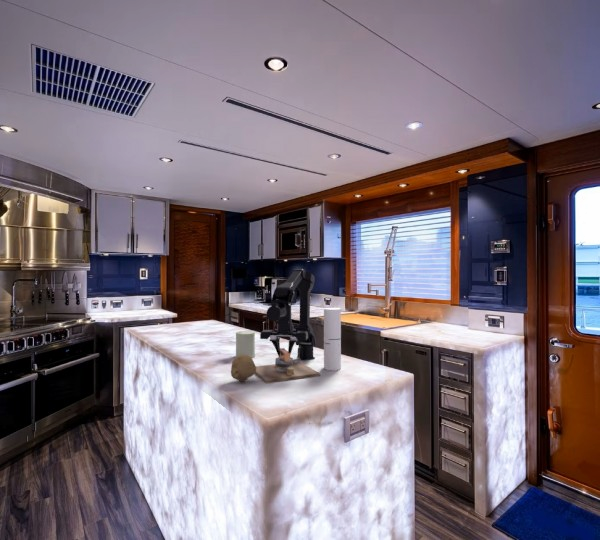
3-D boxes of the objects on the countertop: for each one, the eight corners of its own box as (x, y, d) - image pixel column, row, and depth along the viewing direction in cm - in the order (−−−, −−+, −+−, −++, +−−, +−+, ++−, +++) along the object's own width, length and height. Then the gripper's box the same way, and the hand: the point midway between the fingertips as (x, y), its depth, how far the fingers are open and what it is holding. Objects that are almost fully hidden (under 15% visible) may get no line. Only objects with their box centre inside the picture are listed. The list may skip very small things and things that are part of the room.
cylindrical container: (340, 370, 146) (340, 309, 146) (322, 369, 147) (322, 309, 147) (341, 366, 153) (341, 308, 153) (325, 365, 154) (325, 307, 154)
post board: (299, 363, 157) (299, 356, 157) (319, 375, 139) (319, 367, 139) (250, 369, 148) (250, 361, 148) (266, 383, 130) (266, 374, 130)
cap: (296, 366, 140) (296, 351, 140) (278, 368, 138) (278, 353, 138) (289, 361, 149) (289, 347, 149) (272, 362, 146) (272, 348, 146)
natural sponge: (259, 379, 134) (259, 352, 134) (249, 386, 126) (249, 358, 126) (238, 377, 137) (238, 351, 137) (226, 384, 128) (226, 356, 128)
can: (233, 355, 173) (233, 330, 173) (251, 353, 177) (251, 329, 177) (238, 359, 164) (238, 333, 164) (257, 357, 168) (257, 332, 168)
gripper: (310, 315, 150) (310, 352, 150) (267, 314, 153) (267, 350, 153) (305, 319, 139) (305, 359, 139) (259, 318, 142) (259, 357, 142)
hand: (284, 356), depth 143 cm, fingers closed on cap, 4 cm apart
